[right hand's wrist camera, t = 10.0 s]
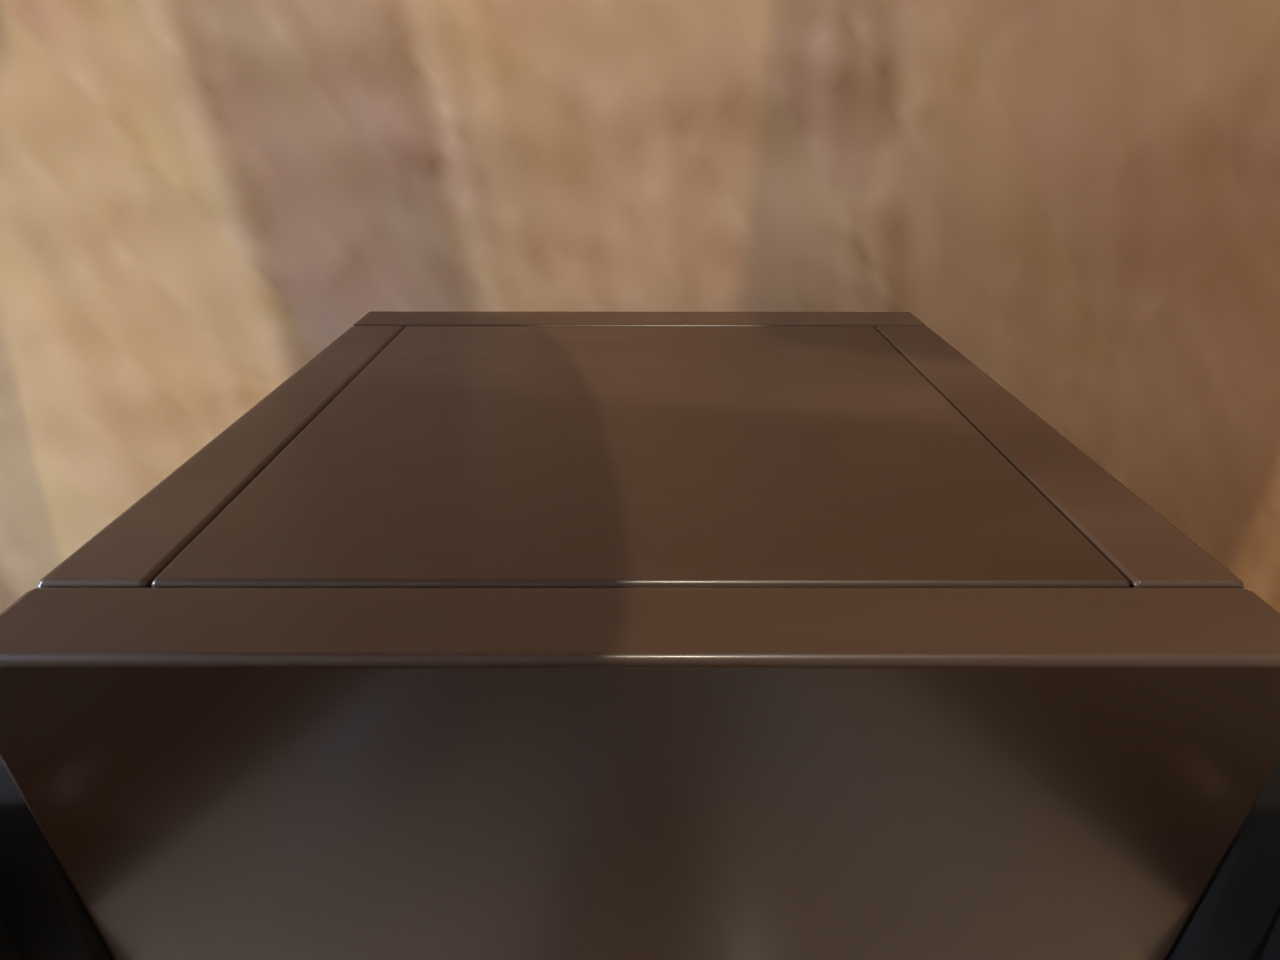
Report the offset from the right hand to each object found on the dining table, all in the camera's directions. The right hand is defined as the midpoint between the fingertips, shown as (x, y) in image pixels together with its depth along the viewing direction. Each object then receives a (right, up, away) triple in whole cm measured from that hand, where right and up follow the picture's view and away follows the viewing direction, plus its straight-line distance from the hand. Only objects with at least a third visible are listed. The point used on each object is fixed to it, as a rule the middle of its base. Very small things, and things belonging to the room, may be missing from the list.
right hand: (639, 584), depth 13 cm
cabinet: (0, -4, +7) cm, 8 cm away
